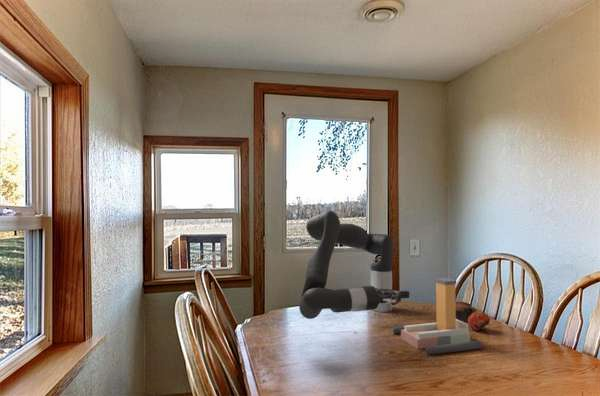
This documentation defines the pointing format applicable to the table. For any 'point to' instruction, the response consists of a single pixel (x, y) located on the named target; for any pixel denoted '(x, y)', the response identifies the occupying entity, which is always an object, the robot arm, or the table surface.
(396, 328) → the cord bundle
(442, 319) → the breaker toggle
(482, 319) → the pomegranate
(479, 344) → the dark grey bar
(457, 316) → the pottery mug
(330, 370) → the table surface
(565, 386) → the table surface
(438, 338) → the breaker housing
